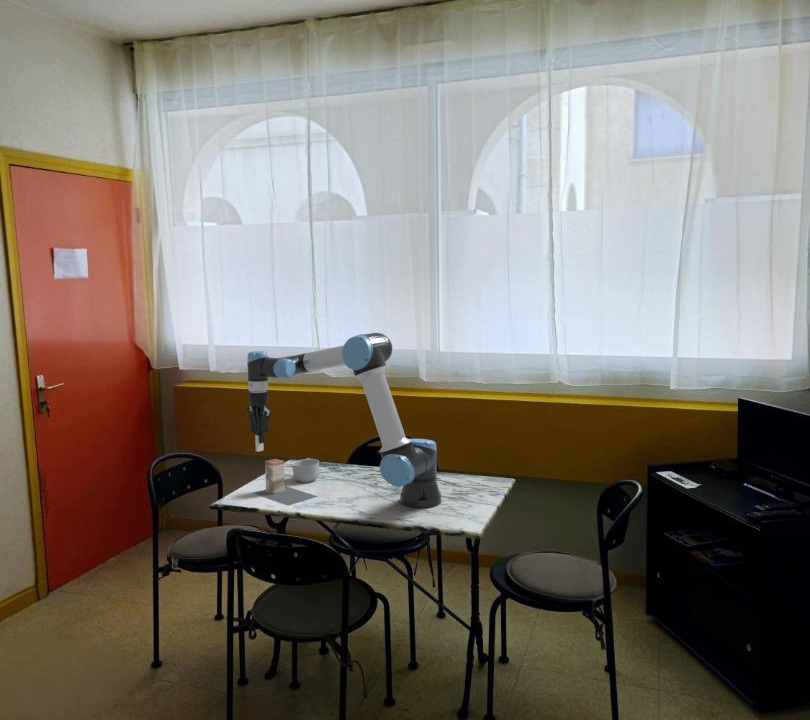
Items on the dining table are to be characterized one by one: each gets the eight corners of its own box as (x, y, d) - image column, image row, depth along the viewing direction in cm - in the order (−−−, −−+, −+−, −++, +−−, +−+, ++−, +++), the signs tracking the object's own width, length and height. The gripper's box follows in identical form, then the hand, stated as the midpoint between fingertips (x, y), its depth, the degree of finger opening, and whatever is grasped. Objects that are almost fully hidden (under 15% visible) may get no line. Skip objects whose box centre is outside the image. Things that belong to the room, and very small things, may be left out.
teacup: (314, 485, 270) (314, 465, 270) (288, 484, 272) (288, 464, 271) (325, 475, 284) (324, 457, 283) (300, 474, 286) (299, 456, 285)
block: (284, 491, 262) (283, 460, 260) (273, 494, 258) (273, 463, 257) (276, 488, 265) (275, 458, 264) (266, 491, 261) (265, 461, 260)
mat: (318, 497, 255) (318, 496, 255) (288, 506, 245) (288, 505, 245) (282, 485, 270) (282, 484, 270) (252, 494, 260) (252, 493, 260)
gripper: (240, 390, 265) (241, 449, 268) (260, 394, 256) (261, 455, 259) (256, 388, 270) (257, 446, 273) (276, 392, 262) (277, 451, 264)
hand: (259, 450), depth 266 cm, fingers closed
